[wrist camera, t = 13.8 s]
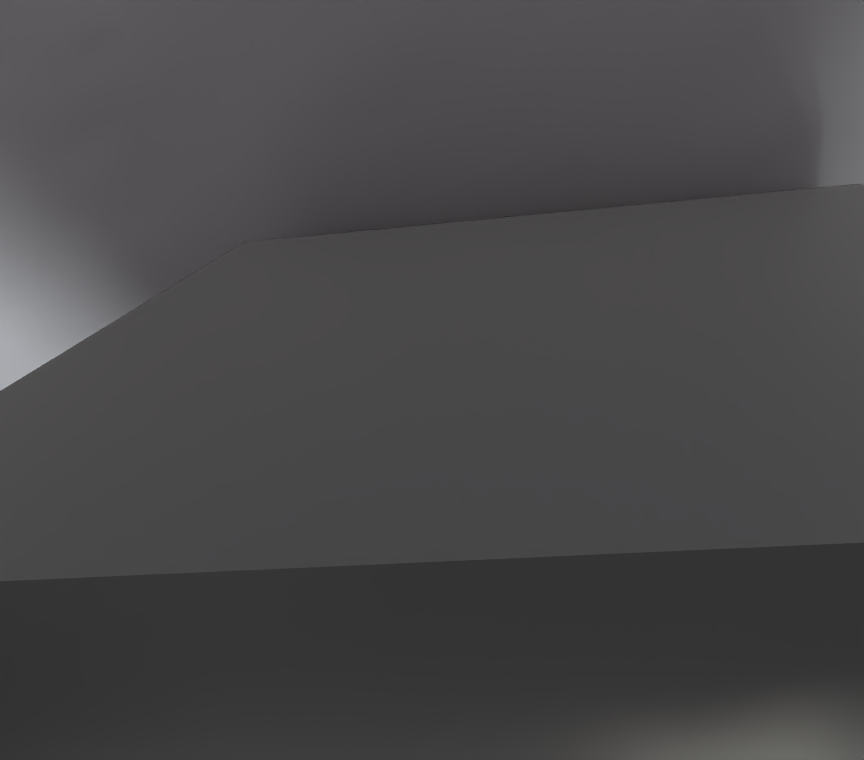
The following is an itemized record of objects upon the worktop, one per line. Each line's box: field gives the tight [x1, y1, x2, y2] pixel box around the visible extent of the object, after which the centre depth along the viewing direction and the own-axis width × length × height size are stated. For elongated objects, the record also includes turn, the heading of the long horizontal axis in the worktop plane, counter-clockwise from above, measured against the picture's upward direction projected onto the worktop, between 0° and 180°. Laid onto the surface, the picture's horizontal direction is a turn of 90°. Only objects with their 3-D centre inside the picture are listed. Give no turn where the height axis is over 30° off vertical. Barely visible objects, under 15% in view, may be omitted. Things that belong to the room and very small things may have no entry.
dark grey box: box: [0, 184, 864, 760], centre depth 7 cm, size 8×8×7 cm
